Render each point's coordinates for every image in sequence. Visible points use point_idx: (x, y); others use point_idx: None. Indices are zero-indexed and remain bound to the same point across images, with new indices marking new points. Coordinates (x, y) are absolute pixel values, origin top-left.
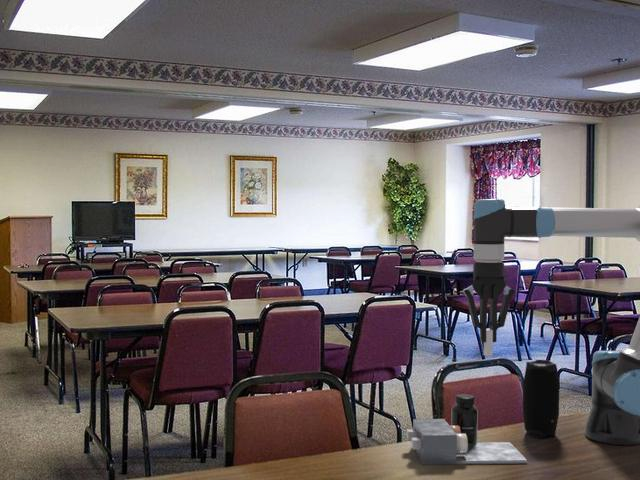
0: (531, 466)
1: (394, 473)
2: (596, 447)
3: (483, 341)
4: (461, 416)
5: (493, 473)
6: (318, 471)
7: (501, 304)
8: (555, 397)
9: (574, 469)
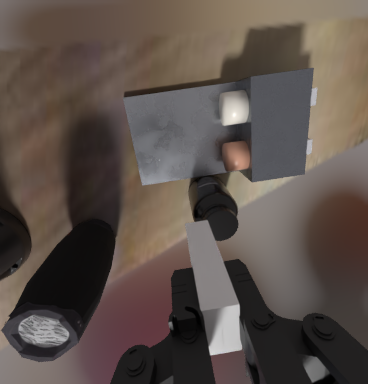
0: (118, 83)
1: (337, 24)
2: (13, 189)
3: (234, 262)
4: (222, 191)
5: (182, 38)
6: None
7: None
8: (44, 261)
9: (48, 73)
